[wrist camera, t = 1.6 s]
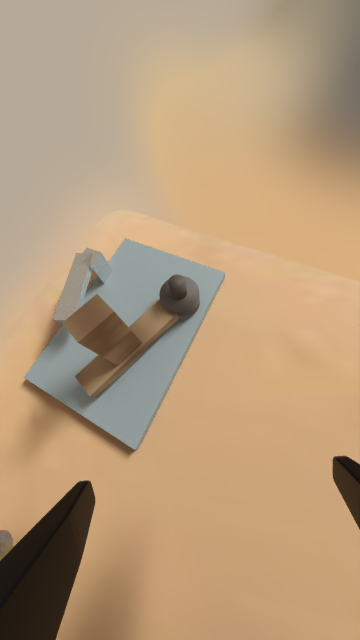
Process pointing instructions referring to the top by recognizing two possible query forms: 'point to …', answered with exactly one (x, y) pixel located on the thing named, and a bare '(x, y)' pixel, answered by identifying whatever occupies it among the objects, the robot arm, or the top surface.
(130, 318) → the board
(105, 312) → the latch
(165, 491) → the top surface
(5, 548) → the mug
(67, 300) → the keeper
